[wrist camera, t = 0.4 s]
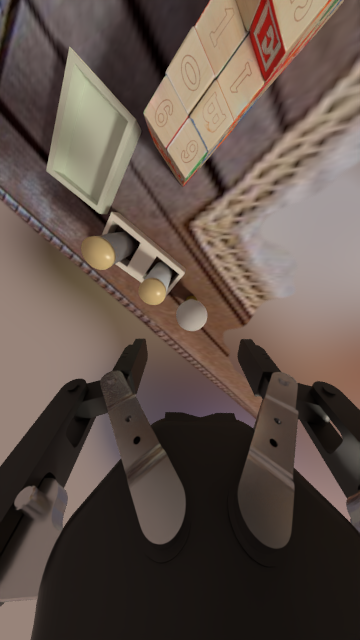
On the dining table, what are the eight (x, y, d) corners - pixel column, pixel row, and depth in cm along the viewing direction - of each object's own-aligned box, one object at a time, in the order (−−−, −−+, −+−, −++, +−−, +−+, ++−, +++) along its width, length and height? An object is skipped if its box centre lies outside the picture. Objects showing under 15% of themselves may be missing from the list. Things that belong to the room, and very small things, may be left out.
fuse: (160, 257, 30) (147, 274, 20) (176, 270, 31) (170, 291, 22) (149, 273, 31) (133, 294, 22) (165, 284, 33) (155, 309, 24)
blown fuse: (121, 225, 27) (87, 228, 18) (140, 241, 28) (117, 251, 19) (112, 245, 29) (77, 256, 20) (130, 258, 30) (105, 275, 21)
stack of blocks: (183, 189, 24) (185, 175, 14) (154, 145, 21) (131, 89, 11) (339, 7, 15) (625, -355, 6) (325, -107, 13) (856, -1256, 3)
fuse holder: (118, 212, 26) (111, 211, 23) (185, 268, 31) (185, 272, 28) (103, 247, 29) (95, 249, 27) (165, 292, 34) (163, 298, 31)
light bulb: (175, 306, 36) (171, 332, 27) (183, 283, 32) (181, 305, 24) (198, 313, 36) (200, 340, 28) (208, 292, 33) (214, 316, 25)
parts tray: (85, 68, 18) (69, 46, 16) (142, 130, 20) (136, 119, 18) (60, 175, 24) (46, 170, 21) (107, 214, 26) (99, 213, 24)
